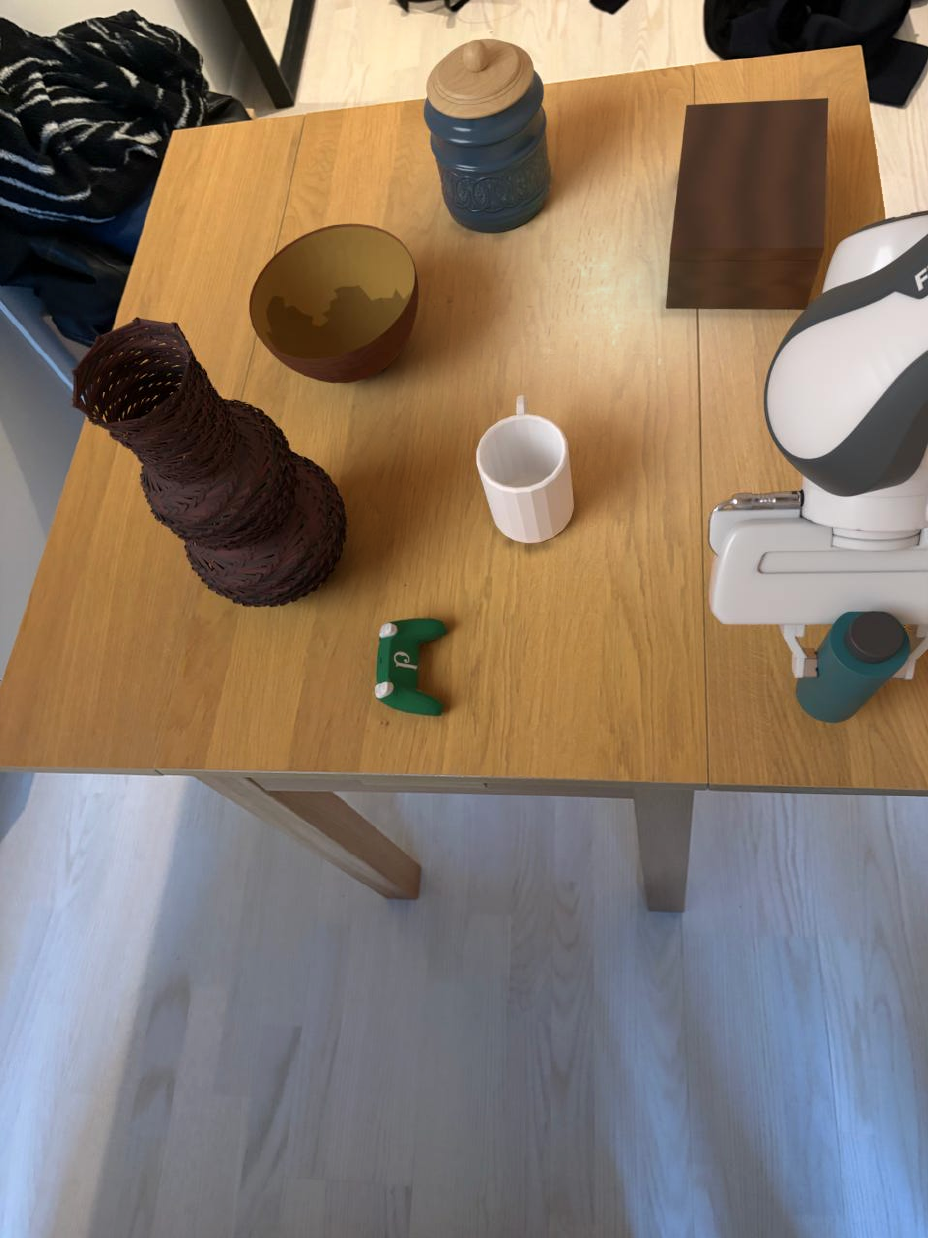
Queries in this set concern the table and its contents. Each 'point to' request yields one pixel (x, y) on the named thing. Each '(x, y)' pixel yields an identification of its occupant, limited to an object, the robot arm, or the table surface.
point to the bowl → (337, 302)
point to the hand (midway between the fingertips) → (850, 675)
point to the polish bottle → (853, 665)
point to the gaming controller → (405, 665)
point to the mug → (526, 475)
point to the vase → (214, 468)
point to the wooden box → (749, 205)
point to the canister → (489, 135)
